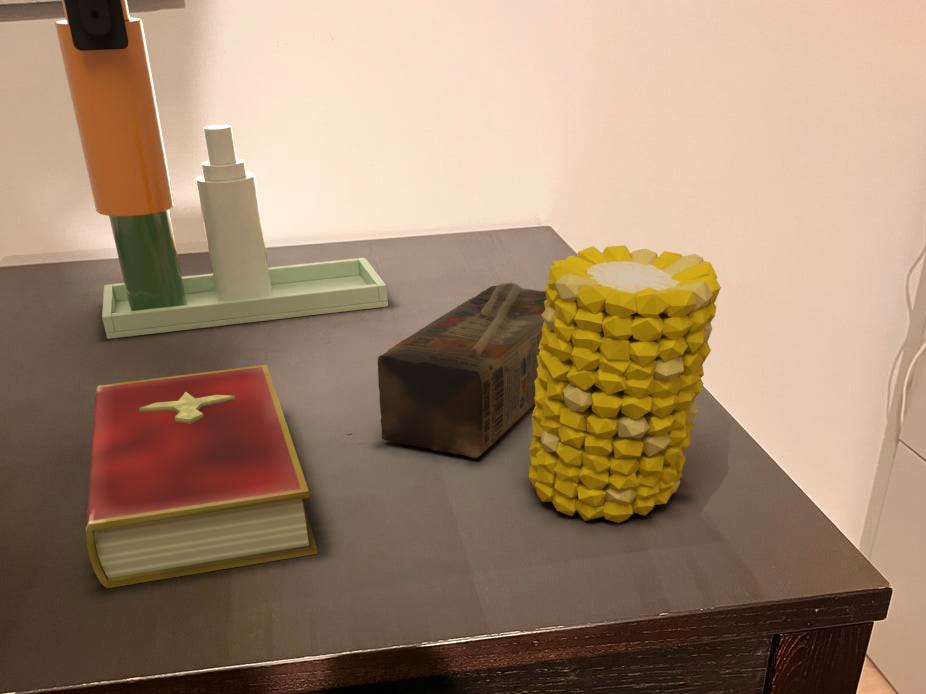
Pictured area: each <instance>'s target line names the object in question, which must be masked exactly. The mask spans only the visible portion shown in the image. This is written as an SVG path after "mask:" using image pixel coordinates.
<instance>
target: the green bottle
mask: <svg viewBox="0 0 926 694" xmlns="http://www.w3.org/2000/svg"><path fill="white" fill-rule="evenodd" d="M108 218H109V223H110V226H111V231H112V236H113V240H114V245H115V248H116V253H117V257H118V262H119V266H120V272H121V276H122V279H123V283H124V284H125V289H126V293H127V298H128V302H129V306H130V311H138V310H147V309H156V308H165V307H174V306H183V305H187V300H186V295H185V290H184V284H183V279H182V277H183V275H182V269H181V264H180V259H179V253H178V250H177V244H176V238H175V234H174V229H173V223H172V217H171V213H170V209H169V210H166V211H163V212H159V213H155V214H149V215H141V216H108Z"/></svg>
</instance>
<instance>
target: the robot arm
mask: <svg viewBox="0 0 926 694" xmlns="http://www.w3.org/2000/svg"><path fill="white" fill-rule="evenodd" d="M64 2H65V7H66V12H67V17H68V21H69V26H70V31H71V35H72V40H73V44H74V46H75V48H76V49H78V50H81V51H86V50H110V49H125V48H126V47H127V46H128V36H127V31H126V25H125V20H124V14H123V9H122V4H121V0H64Z"/></svg>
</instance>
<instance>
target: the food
mask: <svg viewBox="0 0 926 694" xmlns="http://www.w3.org/2000/svg"><path fill="white" fill-rule="evenodd" d="M717 279H718V275H717V273H716V271H715V269H714V267H713V265H712V263H711V261H707V260H704V257H703V256H700V255H698V254H696V253H691V254H688V255H684V256H683V254H682V253H677V252H671V251H667V250H664V251H663V252H661V254H660V255H659V256H658V252H656V251H653V250H651V249H648V248H642V249H641V248H640V249H636V250H632V251H630V250H629V249H628V247H627V245H613V246H612V245H610V246H606V247H604V250H603V251H602V252H601V251H600V250H599V249H598V248H597V247H595V246H594V245H592V246H589V247H587V248H584V249H581V250H579V251H577V255H569V256H567V257H566V258H565V259H561V260H560V259H558V260H555V261H552V265H551V266H550V267H549V272H548V280H547V285H546V286H545V287H544V291H546V296H547V300H546V301H544V304H545V311H544V312H543V314H542V317H543V320H544V323H543V327H542V337H541V341H540V344H539V347H538V348H539V350H540V352H539V355H538V356H537V361H538V368H537V374H538V377H537V379H536V380H535V381H534V382H535V394H536V396H535V397H534V400H535V405H534V406H533V408H534V409H533V411H532V414H531V424H532V425H531V427H532V440H531V442H530V446H529V448H528V451H529V452H530V453H529V456H528V457H529V460H530V465H529V467H528V478H529V480H530V483H531V484H532V486H533V488H535V492H536V495H537V497H538V498H539V499H540V500H541V503H542V502H551V503H552V504H553V506H554V507H555V509H556V511H557V512H560V513H561V514H565V515H568V516H571V517H572V516H574V514H575V513H576V512H577V513H578V515H579V516H580V517H581V519H582V520H583V521H584V522H585V521H586V522H587V521H590V520H595V519H599V518H603V517H604V519H605V520H607V521H611V522H614V523H617V524H620V523H622V522H624V521H626V520H629V518H631V516H632V515H634V514H638V515H641V516H646V515H648V514H649V513H650V512H651V511H652V510H653V509H654V508H655V505H656V506H657V505H665V504H667V503H668V501H670V498H671V496H672V495H674V494H675V493H678V489H679V487H680V485H681V480H680V479H681V478H682V477H683V473H682V471H683V468H684V465H685V463H686V460H687V458H686V456H685V454H684V453H685V450H686V449H687V448H688V447H689V446H690V445H691V443H692V442H691V441H692V440H691V431H692V430H693V429H694V427H695V425H694V422H693V421H694V419H695V418H696V417H697V416H698V414H699V412H698V409H697V406H696V403H695V399H696V397H697V396H698V395H699V394H700V393H701V390H703V389H702V388H703V387H704V381H703V380H702V377H704V376H705V373H704V366H703V365H704V363H705V361H706V360H707V358H708V356H709V355H710V354H711V352H712V350H711V346H710V345H709V339H710V336H711V333H712V331H713V326H712V323H711V322H712V321H713V319H714V318H715V317H716V312H717V305H716V304H715V303H716V301H717V298H718V296H719V293H720V291H721V289H722V286H721V284H720V283H719V282H718V280H717Z"/></svg>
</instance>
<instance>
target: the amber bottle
mask: <svg viewBox="0 0 926 694" xmlns="http://www.w3.org/2000/svg"><path fill="white" fill-rule="evenodd" d="M61 1H62V7H63V12H64V16H65V19H62V20H57V21H55V22H54V26H55V30H56V34H57V39H58V43H59V49H60V53H61V57H62V61H63V67H64V71H65V75H66V76H65V77H66V79H67V84H68V89H69V94H70V98H71V102H72V103H71V104H72V108H73V112H74V116H75V120H76V121H75V122H76V126H77V130H78V134H79V139H80V144H81V149H82V153H83V158H84V162H85V166H86V171H87V175H88V180H89V185H90V189H91V194H92V199H93V202H94V203H93V204H94V208H95V211H96V213H98V214H99V215H103V216H108V217H109V216H141V215H149V214H155V213H159V212H163V211H166V210H169V211H170V210H171V209H172V208H174V206H175V200H174V194H173V189H172V183H171V179H170V178H171V177H170V171H169V166H168V161H167V156H166V149H165V144H164V137H163V132H162V127H161V122H160V115H159V110H158V105H157V99H156V94H155V93H156V92H155V88H154V87H155V86H154V81H153V76H152V75H153V74H152V70H151V64H150V59H149V53H148V48H147V41H146V36H145V32H144V30H145V29H144V25H143V20H142V18H139V17H130V12H129V5H128V1H127V0H121V4H122V9H123V14H124V20H125V25H126V31H127V36H128V46H127V47H126V48H125V49H110V50H86V51H81V50H78V49H76V48H75V46H74V44H73V40H72V35H71V31H70V26H69V21H68V17H67V12H66V7H65V2H64V0H61Z"/></svg>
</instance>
